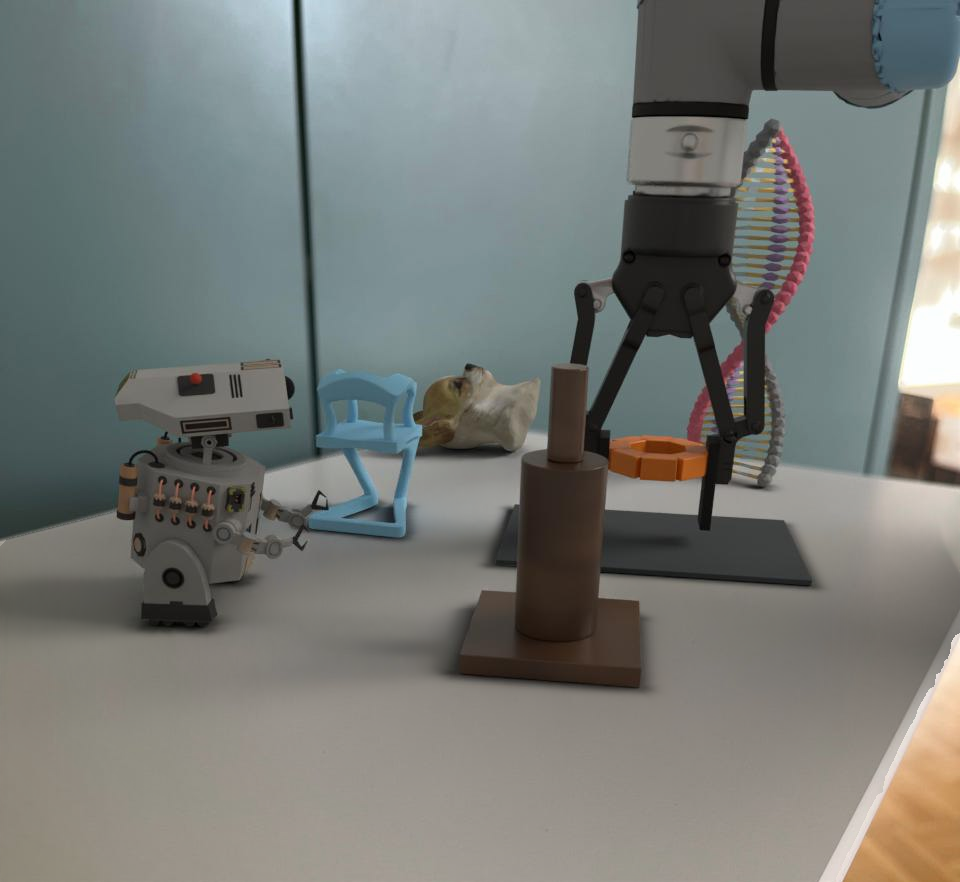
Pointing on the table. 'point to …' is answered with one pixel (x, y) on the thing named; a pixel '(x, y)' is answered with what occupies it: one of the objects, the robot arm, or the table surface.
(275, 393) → the figurine
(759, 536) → the rubber mat
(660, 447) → the orange ring
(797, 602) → the table surface
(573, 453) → the ring stand
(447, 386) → the toy dog
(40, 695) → the table surface
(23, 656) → the table surface
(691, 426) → the dna model
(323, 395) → the chair
